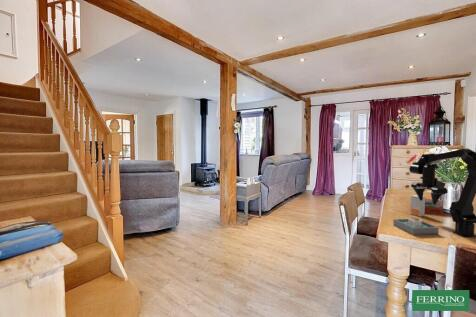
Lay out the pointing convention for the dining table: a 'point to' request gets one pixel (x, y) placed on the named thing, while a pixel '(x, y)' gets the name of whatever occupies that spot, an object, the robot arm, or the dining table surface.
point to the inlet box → (420, 230)
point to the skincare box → (417, 205)
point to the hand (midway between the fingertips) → (427, 202)
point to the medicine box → (433, 206)
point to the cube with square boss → (414, 222)
